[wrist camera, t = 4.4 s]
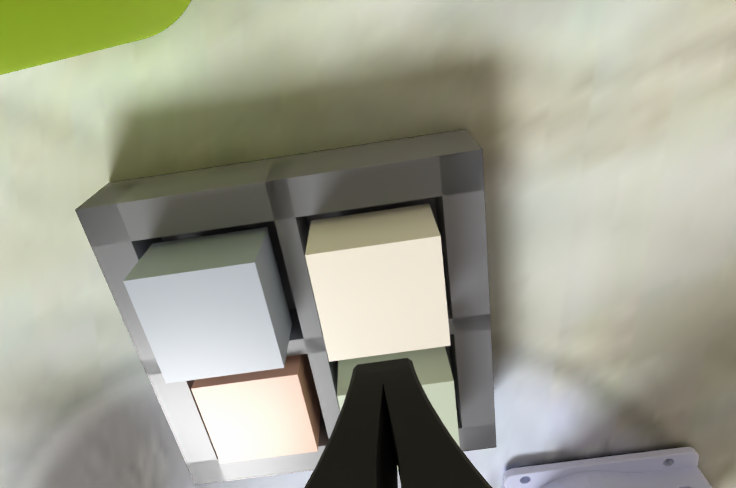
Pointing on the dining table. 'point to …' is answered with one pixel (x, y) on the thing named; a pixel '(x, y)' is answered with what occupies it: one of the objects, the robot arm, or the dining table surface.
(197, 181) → the grey divided tray
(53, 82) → the dining table surface
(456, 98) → the dining table surface
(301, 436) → the terracotta key
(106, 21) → the soap dispenser
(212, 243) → the slate key
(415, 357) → the sage key
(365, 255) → the ivory key
